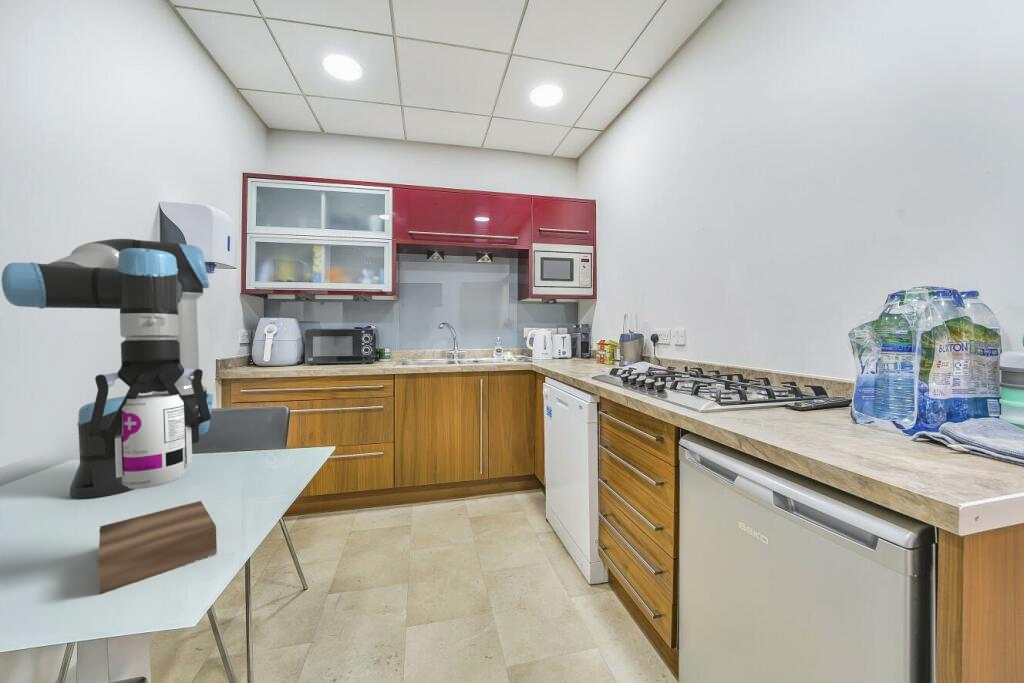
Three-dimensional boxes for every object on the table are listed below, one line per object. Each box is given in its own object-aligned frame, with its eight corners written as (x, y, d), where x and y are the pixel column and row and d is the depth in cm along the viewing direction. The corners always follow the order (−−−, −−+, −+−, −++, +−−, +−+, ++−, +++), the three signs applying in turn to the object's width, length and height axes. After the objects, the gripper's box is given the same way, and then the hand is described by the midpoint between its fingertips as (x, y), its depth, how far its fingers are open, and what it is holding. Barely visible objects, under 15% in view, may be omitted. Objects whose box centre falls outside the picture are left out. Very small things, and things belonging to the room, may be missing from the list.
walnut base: (101, 554, 68) (100, 526, 68) (201, 525, 78) (200, 500, 78) (99, 594, 57) (98, 561, 57) (216, 554, 67) (216, 525, 67)
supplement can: (131, 494, 62) (128, 401, 62) (116, 484, 66) (113, 398, 66) (194, 477, 69) (191, 394, 69) (176, 470, 73) (173, 391, 73)
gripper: (56, 340, 57) (61, 492, 57) (229, 337, 72) (233, 457, 73) (60, 340, 62) (65, 480, 62) (221, 338, 78) (224, 450, 78)
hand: (155, 468), depth 67 cm, fingers closed on supplement can, 8 cm apart
